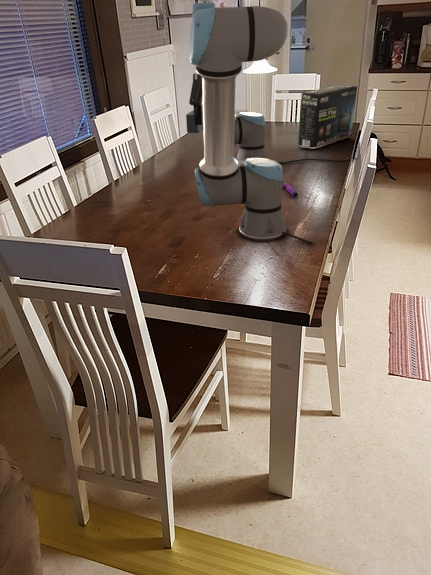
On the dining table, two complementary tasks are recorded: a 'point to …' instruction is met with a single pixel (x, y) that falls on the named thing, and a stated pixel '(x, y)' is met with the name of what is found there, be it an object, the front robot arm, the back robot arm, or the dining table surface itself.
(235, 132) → the back robot arm
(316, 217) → the dining table surface
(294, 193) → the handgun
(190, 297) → the dining table surface
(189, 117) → the bar
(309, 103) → the router box
